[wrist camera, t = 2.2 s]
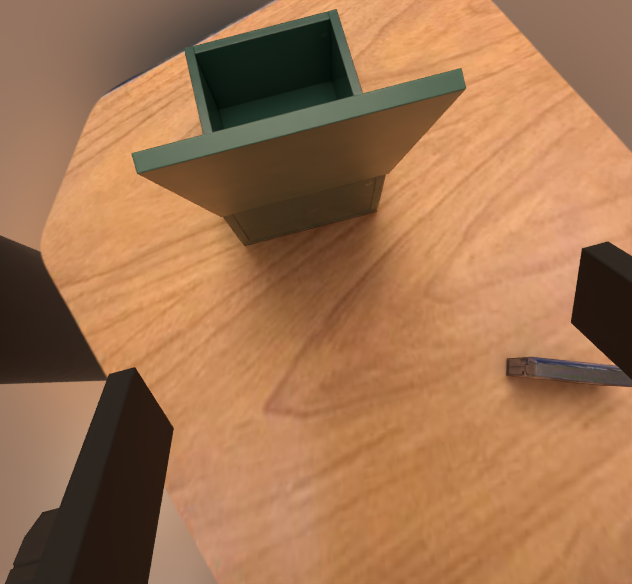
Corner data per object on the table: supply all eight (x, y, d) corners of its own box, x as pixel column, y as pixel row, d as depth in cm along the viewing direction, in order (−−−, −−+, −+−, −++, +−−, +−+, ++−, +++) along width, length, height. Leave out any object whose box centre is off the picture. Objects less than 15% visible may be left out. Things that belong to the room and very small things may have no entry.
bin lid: (130, 152, 17) (136, 174, 17) (462, 67, 17) (466, 88, 17) (217, 206, 34) (220, 217, 34) (386, 162, 34) (389, 173, 34)
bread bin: (212, 109, 46) (183, 48, 37) (336, 77, 46) (336, 8, 37) (244, 246, 43) (220, 214, 34) (376, 211, 43) (387, 171, 34)
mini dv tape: (599, 368, 39) (645, 367, 33) (599, 385, 39) (646, 387, 33) (506, 358, 39) (536, 356, 34) (505, 375, 39) (535, 375, 33)
